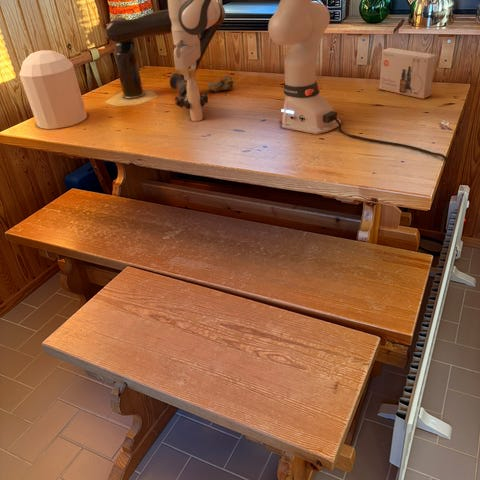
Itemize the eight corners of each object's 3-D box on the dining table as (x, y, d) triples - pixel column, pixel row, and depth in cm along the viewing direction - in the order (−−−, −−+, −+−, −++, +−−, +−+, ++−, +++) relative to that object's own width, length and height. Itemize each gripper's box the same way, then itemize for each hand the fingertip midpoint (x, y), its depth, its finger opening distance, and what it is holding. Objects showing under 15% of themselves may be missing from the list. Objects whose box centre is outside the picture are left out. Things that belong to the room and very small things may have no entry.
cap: (195, 76, 173) (195, 70, 172) (185, 77, 173) (184, 71, 172) (195, 74, 176) (194, 67, 175) (185, 75, 176) (184, 69, 175)
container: (71, 129, 186) (49, 56, 170) (26, 128, 191) (0, 58, 175) (96, 110, 202) (78, 43, 186) (54, 111, 207) (33, 45, 191)
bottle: (201, 116, 186) (195, 69, 176) (203, 119, 182) (197, 72, 172) (190, 118, 186) (183, 70, 175) (191, 121, 182) (184, 74, 171)
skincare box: (377, 89, 194) (381, 50, 185) (385, 86, 197) (389, 47, 188) (423, 99, 180) (429, 56, 171) (430, 95, 183) (437, 53, 174)
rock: (207, 90, 217) (212, 93, 208) (206, 76, 214) (210, 78, 205) (229, 87, 219) (235, 90, 210) (228, 73, 216) (233, 75, 207)
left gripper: (169, 87, 188) (176, 98, 175) (203, 81, 191) (212, 92, 177) (172, 105, 193) (179, 118, 179) (206, 99, 195) (215, 111, 182)
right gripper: (184, 44, 158) (190, 85, 165) (201, 31, 174) (205, 69, 182) (167, 44, 159) (173, 85, 167) (185, 32, 175) (190, 69, 183)
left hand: (196, 105), depth 178 cm, fingers closed on bottle, 5 cm apart
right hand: (190, 76), depth 174 cm, fingers open, 6 cm apart
